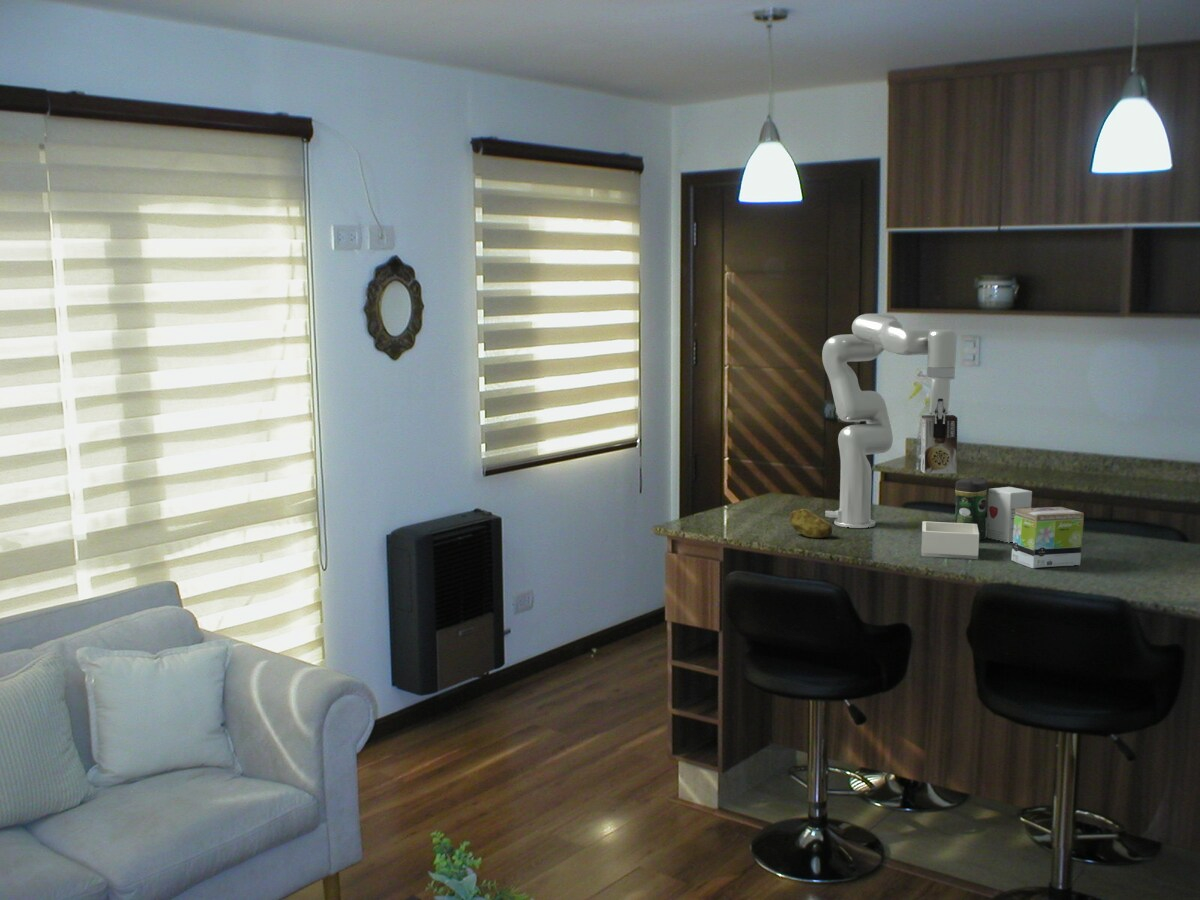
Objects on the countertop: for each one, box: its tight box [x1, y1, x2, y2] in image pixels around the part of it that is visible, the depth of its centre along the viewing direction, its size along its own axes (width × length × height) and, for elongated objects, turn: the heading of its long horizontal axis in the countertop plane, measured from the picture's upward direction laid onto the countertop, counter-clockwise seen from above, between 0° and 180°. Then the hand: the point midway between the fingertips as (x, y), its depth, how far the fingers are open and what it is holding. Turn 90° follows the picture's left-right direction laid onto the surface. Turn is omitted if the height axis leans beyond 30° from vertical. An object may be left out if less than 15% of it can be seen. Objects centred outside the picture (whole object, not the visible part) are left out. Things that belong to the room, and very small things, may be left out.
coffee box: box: [920, 414, 958, 475], centre depth 331 cm, size 9×6×16 cm
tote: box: [920, 520, 980, 560], centre depth 330 cm, size 15×15×7 cm
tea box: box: [1010, 506, 1085, 569], centre depth 315 cm, size 15×10×15 cm
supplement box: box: [985, 486, 1033, 544], centre depth 346 cm, size 9×9×15 cm
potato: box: [788, 508, 833, 539], centre depth 351 cm, size 8×13×8 cm, turn 39°
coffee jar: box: [954, 476, 988, 541], centre depth 346 cm, size 10×8×19 cm
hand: (939, 436), depth 331 cm, fingers closed on coffee box, 7 cm apart
